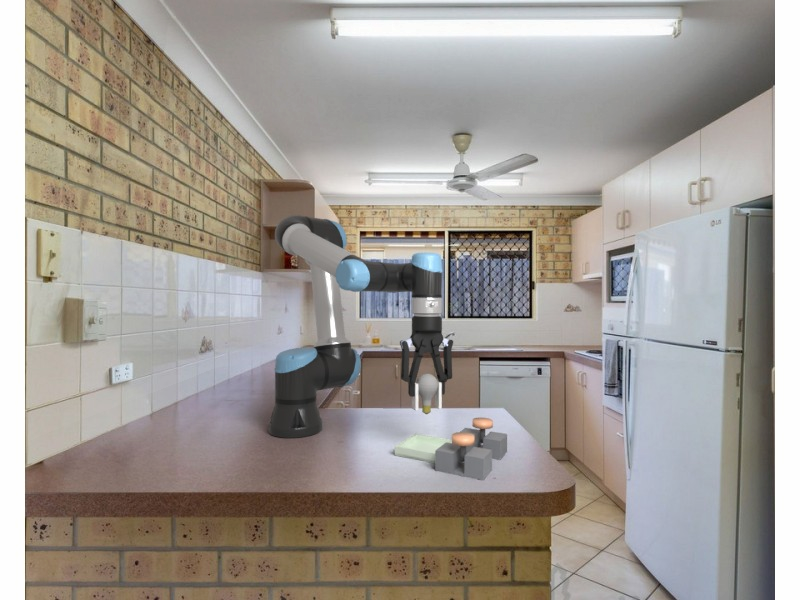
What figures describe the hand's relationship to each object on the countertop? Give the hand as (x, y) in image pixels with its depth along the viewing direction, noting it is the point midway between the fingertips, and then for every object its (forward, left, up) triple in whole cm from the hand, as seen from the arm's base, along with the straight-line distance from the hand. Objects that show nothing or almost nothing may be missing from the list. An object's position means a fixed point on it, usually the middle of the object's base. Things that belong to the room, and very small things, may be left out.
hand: (426, 408), depth 110 cm
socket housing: (+12, 0, -11) cm, 16 cm away
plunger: (+12, -7, -9) cm, 16 cm away
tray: (0, 0, -11) cm, 11 cm away
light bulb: (0, 0, -2) cm, 2 cm away
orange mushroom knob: (+12, +7, -9) cm, 16 cm away
